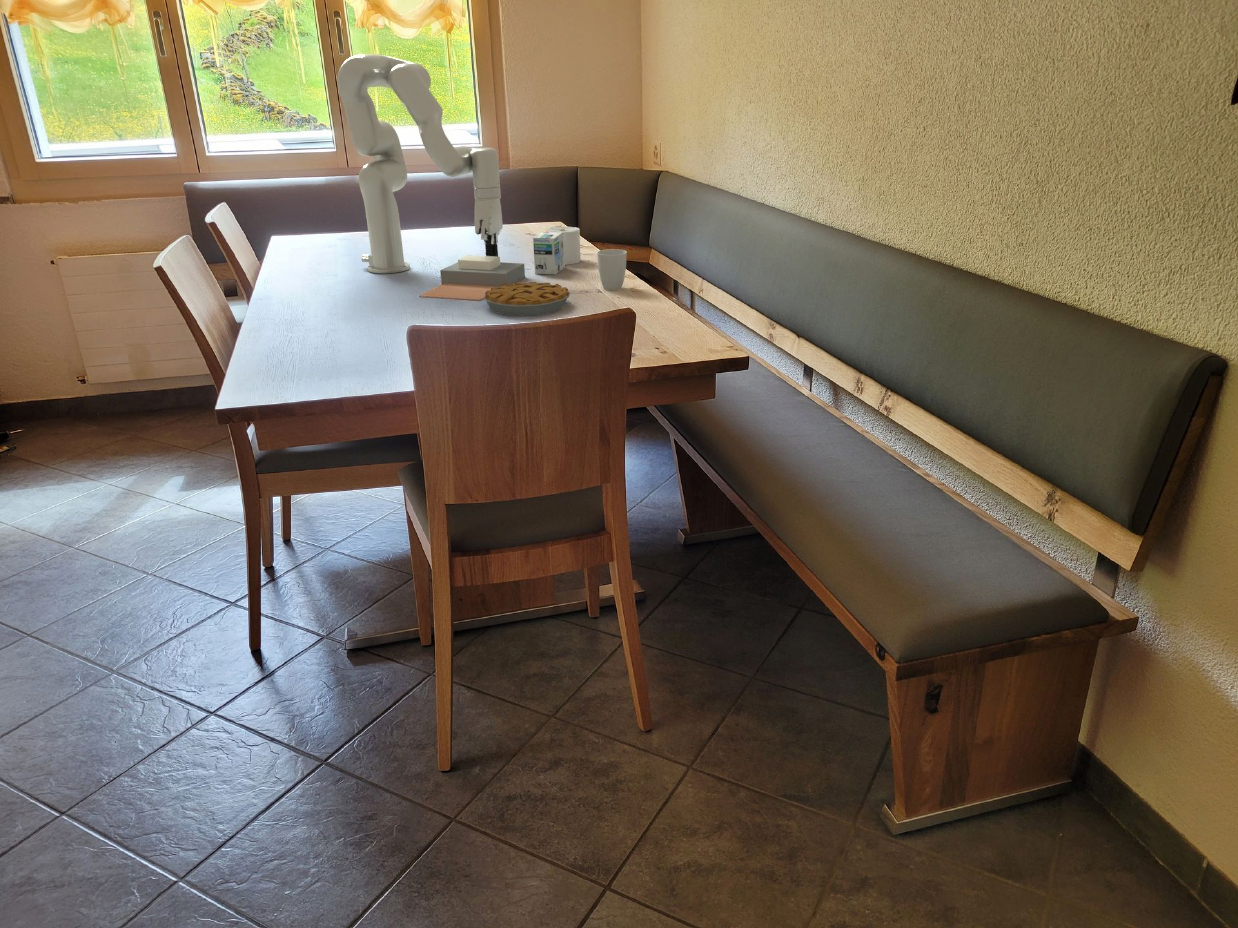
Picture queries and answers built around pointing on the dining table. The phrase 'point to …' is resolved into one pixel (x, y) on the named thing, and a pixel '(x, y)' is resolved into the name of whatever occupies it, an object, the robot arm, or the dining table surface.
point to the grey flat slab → (484, 275)
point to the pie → (526, 298)
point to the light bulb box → (548, 253)
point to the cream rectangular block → (479, 262)
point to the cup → (612, 268)
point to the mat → (458, 292)
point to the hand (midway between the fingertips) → (492, 257)
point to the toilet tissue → (569, 243)
